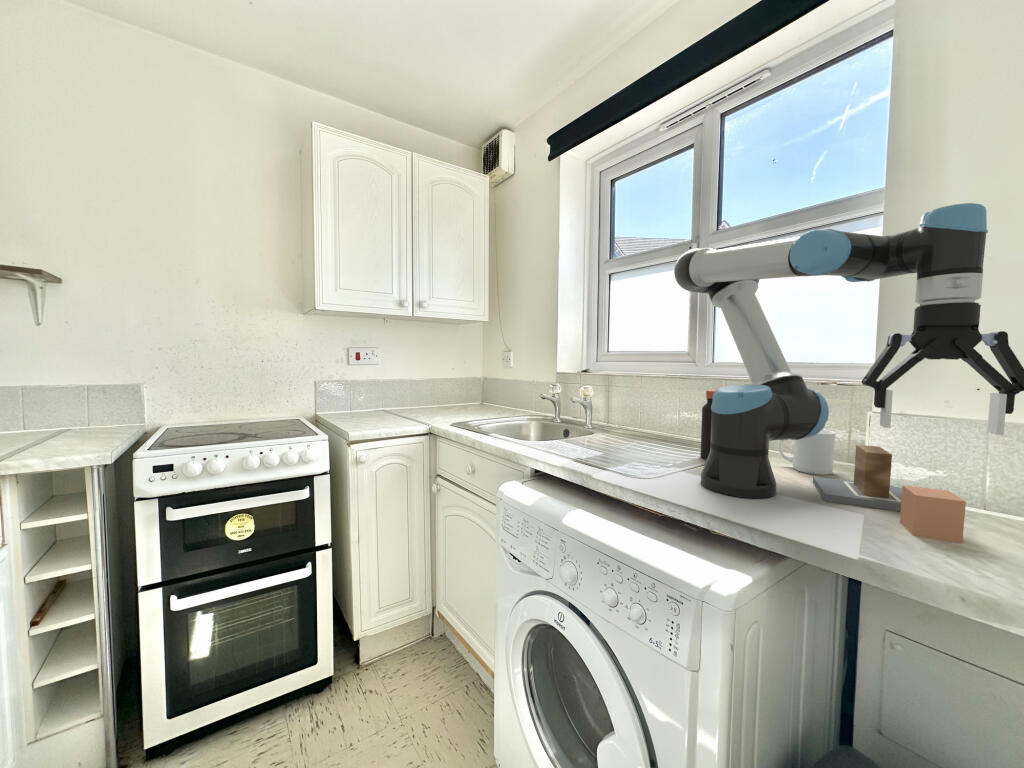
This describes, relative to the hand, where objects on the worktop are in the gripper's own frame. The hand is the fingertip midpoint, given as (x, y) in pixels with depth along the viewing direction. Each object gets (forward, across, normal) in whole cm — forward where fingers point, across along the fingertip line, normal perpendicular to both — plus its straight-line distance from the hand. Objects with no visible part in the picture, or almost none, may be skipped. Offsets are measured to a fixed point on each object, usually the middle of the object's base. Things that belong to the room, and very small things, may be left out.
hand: (937, 430), depth 69 cm
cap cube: (+18, 0, 0) cm, 18 cm away
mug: (+18, -13, +37) cm, 43 cm away
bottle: (+18, -35, +38) cm, 55 cm away
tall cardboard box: (+16, -4, +17) cm, 24 cm away
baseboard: (+18, -4, +17) cm, 25 cm away
